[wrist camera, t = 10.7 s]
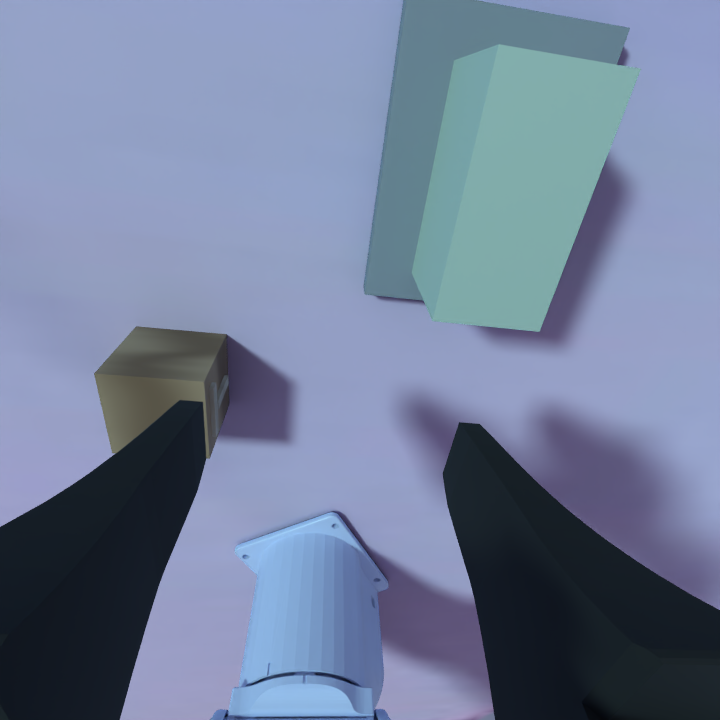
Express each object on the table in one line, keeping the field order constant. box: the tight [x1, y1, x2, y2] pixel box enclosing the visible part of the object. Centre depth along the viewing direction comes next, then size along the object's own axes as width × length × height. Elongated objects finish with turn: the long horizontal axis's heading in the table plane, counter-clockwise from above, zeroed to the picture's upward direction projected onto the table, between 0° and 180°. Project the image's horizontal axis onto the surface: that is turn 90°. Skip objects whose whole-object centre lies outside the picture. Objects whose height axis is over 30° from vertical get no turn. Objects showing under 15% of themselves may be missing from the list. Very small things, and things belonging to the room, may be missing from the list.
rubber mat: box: [364, 0, 630, 300], centre depth 18 cm, size 11×8×1 cm
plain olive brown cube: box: [94, 327, 229, 458], centre depth 21 cm, size 5×4×4 cm
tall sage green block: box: [412, 44, 641, 332], centre depth 16 cm, size 8×4×5 cm, turn 172°
